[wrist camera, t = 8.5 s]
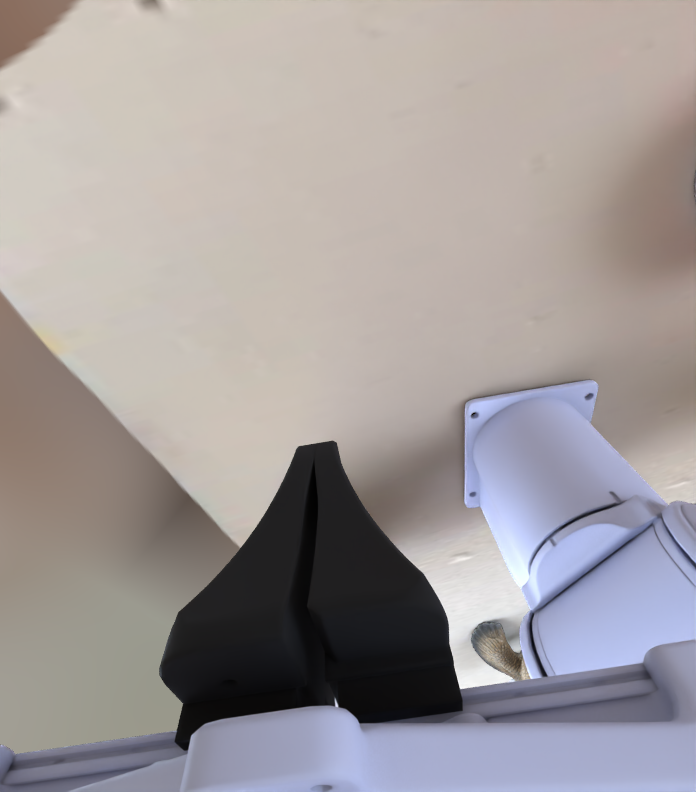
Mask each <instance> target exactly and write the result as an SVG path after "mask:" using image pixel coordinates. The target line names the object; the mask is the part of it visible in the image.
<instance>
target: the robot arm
mask: <svg viewBox="0 0 696 792" xmlns="http://www.w3.org/2000/svg"><path fill="white" fill-rule="evenodd" d="M597 392H598V384H597V383H596V382H595V381H593V380H585V381H579V382H573V383H567V384H561V385H555V386H549V387H543V388H537V389H531V390H525V391H519V392H513V393H507V394H501V395H495V396H489V397H483V398H477V399H472V400H470V401H468V402H467V403H466V405H465V482H464V502H465V504H466V506H467V507H468V508H476V507H481V509H482V511H483V513H484V516H485V518H486V520H487V522H488V525H489V527H490V529H491V531H492V533H493V536H494V538H495V540H496V542H497V545H498V547H499V549H500V551H501V554H502V556H503V558H504V560H505V563H506V565H507V567H508V569H509V572H510V574H511V575H512V577H513V579H514V580H515V582H516V583H517V584H518V586H519V587H520V588H521V590H522V592H523V595H524V597H525V599H526V601H527V603H528V606H529V608H530V610H531V611H529V612H528V613H527V614H526V615H525V616H524V618H523V620H522V622H521V626H520V644H521V649H522V654H523V657H524V661H525V664H526V667H527V670H528V673H529V676H530V678H531V679H528V680H521V681H514V682H507V683H501V684H494V685H487V686H480V687H473V688H466V689H460V688H459V684H458V680H457V676H456V672H455V669H454V661H453V656H452V652H451V649H450V645H449V624H448V619H447V616H446V613H445V611H444V609H443V606H442V604H441V602H440V600H439V599H438V597H437V595H436V593H435V592H434V590H433V588H432V587H431V585H430V583H429V582H428V580H427V579H426V577H425V575H424V574H423V573H422V572H421V571H420V570H419V569H418V568H417V567H416V566H414V565H413V564H412V563H411V562H410V561H409V560H408V559H407V558H406V557H405V556H404V555H403V554H402V553H401V552H400V551H399V550H398V549H397V548H396V546H395V545H394V544H393V543H392V542H391V541H390V540H389V538H388V537H387V536H386V535H385V534H384V533H383V531H382V530H381V529H380V528H379V526H378V525H377V524H376V522H375V521H374V520H373V519H372V517H371V516H370V514H369V513H368V511H367V510H366V509H365V507H364V506H363V504H362V502H361V501H360V499H359V498H358V496H357V494H356V492H355V491H354V489H353V487H352V485H351V483H350V481H349V479H348V477H347V475H346V473H345V471H344V469H343V466H342V464H341V460H340V455H339V451H338V446H337V443H336V442H334V441H328V442H322V443H316V444H310V445H304V446H299V447H298V448H297V449H296V452H295V454H294V457H293V459H292V462H291V464H290V467H289V469H288V471H287V473H286V475H285V478H284V480H283V482H282V484H281V486H280V488H279V490H278V492H277V493H276V495H275V497H274V499H273V501H272V502H271V504H270V506H269V508H268V509H267V511H266V513H265V514H264V516H263V517H262V519H261V521H260V522H259V524H258V525H257V527H256V528H255V530H254V531H253V532H252V534H251V535H250V537H249V538H248V539H247V541H246V542H245V543H244V544H243V546H242V547H241V548H240V550H239V551H238V552H237V553H236V555H235V556H234V557H233V558H232V559H231V561H230V562H229V563H228V564H227V565H226V566H225V567H224V568H223V570H222V571H221V572H220V573H219V574H218V575H217V576H216V577H215V578H214V579H213V580H212V581H211V582H210V583H209V585H208V586H207V587H205V589H204V590H202V591H201V592H200V593H199V594H198V595H197V596H196V597H195V598H194V599H193V600H192V601H191V602H189V603H188V604H187V605H186V606H185V607H184V608H183V609H182V610H181V611H179V612H178V615H177V617H176V620H175V622H174V625H173V627H172V629H171V632H170V635H169V638H168V641H167V644H166V648H165V651H164V654H163V658H162V661H161V665H160V668H159V672H160V673H159V674H160V677H161V678H162V680H163V682H164V683H165V685H166V686H167V687H168V688H169V689H170V690H171V691H172V692H173V693H174V694H175V695H176V696H177V697H178V698H179V700H180V701H181V702H182V703H183V707H182V711H181V715H180V719H179V724H178V728H177V731H171V732H164V733H157V734H150V735H144V736H137V737H130V738H123V739H116V740H109V741H103V742H96V743H88V744H82V745H75V746H68V747H61V748H55V749H47V750H41V751H34V752H27V753H20V754H15V753H14V751H12V750H11V749H10V748H8V747H6V746H4V745H1V744H0V792H696V504H692V503H687V502H683V501H674V502H671V503H670V505H668V504H667V503H666V502H665V501H664V500H663V499H662V498H661V497H660V496H659V495H658V494H657V493H656V492H655V491H654V490H653V489H652V487H651V486H650V485H649V484H648V483H647V482H646V481H645V480H644V479H643V478H642V477H641V476H640V475H639V474H638V473H637V472H636V471H635V470H634V469H633V468H632V467H631V466H630V465H629V464H628V462H627V461H626V460H625V459H624V458H623V457H622V456H621V455H620V454H619V453H618V452H617V451H616V450H615V449H614V448H613V447H612V446H611V445H610V444H609V443H608V442H607V441H606V440H605V439H604V438H603V436H602V435H601V434H600V433H599V432H598V431H597V430H596V429H595V428H594V427H593V426H592V425H591V424H590V423H591V419H592V414H593V410H594V406H595V401H596V397H597ZM587 394H589V395H587ZM586 395H587V396H586ZM474 412H476V414H475V415H471V414H472V413H474ZM471 492H472V493H471ZM335 699H336V702H337V704H338V707H335Z"/></svg>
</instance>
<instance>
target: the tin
mask: <svg viewBox="0 0 696 792" xmlns="http://www.w3.org/2000/svg"><path fill="white" fill-rule="evenodd" d="M694 196H695V202H696V172H695V181H694Z"/></svg>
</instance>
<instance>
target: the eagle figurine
mask: <svg viewBox="0 0 696 792" xmlns="http://www.w3.org/2000/svg"><path fill="white" fill-rule="evenodd" d="M474 633H475V634H472V637H473V638H471V641H472V644H473V648H474V649H475V651H476V652H477V653H478V655H479V656H480V657H481V658H482V659H483V660H484V661H485V662H486V663H487V664H489V665H490V666H492V667H493V668H494V669H497V670H498V671H500V672H502V673H505V674H506V675H509V676H510V677H512V678H513V679H511V680H510V681H509V682H514V681H521V680H528V679H531V678H530V676H529V673H528V670H527V667H526V664H525V661H524V657H523V654H522V650H521V652H520V653H515V652H514V651H513V650H512V649H511V647H510V646H509V644H508V643H507V641H506V638H505V634H504V632H503V628H502V626H501V624H499V623H498V624H495V623H494V622H491V623H487V622H484V623H483V624H479V625H478V629H475V630H474Z"/></svg>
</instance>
